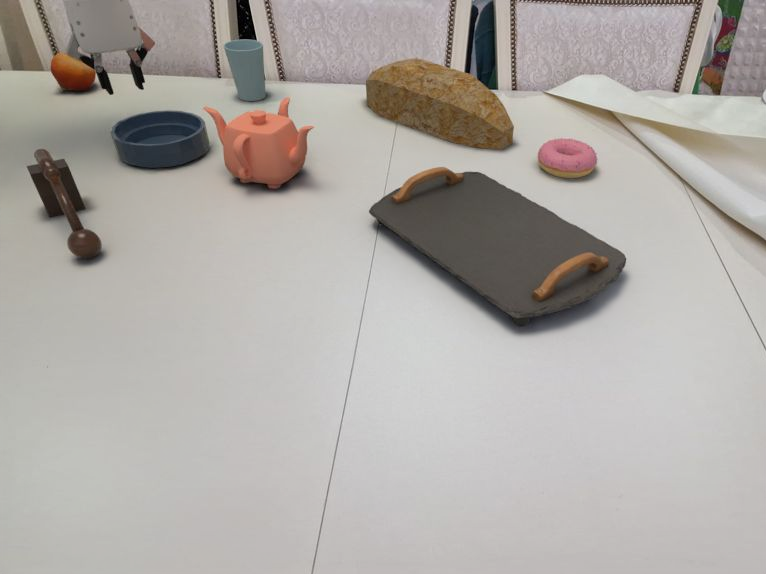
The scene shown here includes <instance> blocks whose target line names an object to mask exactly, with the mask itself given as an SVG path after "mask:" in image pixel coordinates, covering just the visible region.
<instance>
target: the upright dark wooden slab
mask: <svg viewBox="0 0 766 574" xmlns="http://www.w3.org/2000/svg"><path fill="white" fill-rule="evenodd" d="M53 160H54V159H53ZM54 162H55V164H56V166H57V168H58V170H59V172H60V174H61V177H60V179H61V181H62V183H63V185H64V188H65V190H66V192H67V194H68V196H69V198H70V200H71V202H72V205H73V207H74V209H75V211H76V212H77V211H81V210H86V206H85V203H84V200H83V199H82V196H81V193H80V191H79V188H78V186H77V184H76V180H75V179H74V176H73V174H72V171H71V169H70V167H69V165H68V163H67V161H66V159H65V158H60V159H55V160H54ZM25 167H26V168H27V171H28V174H29V176H30V178H31V180H32V182H33V185H34V187H35V189H36V191H37V193H38V195H39V198H40V199H41V202H42V204H43V206H44V208H45V211H46V213H47V215H48V217H49V218H51V217H56V216H60V215H65V214H64V212H63V210H62V208H61V205H60V203H59V201H58V199H57V197H56V195H55V193H54V190H53V188H52V186H51V184H50V182H49V181H48V180H47V179H46V178H45V177H44V175H43V173H42V171H41V169H40V167H39V165H38V163H34V164H30V165H26V166H25Z"/></svg>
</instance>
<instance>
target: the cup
mask: <svg viewBox="0 0 766 574" xmlns="http://www.w3.org/2000/svg"><path fill="white" fill-rule="evenodd" d="M223 49H224V52H225V56H226V58H227V59H226V60H227V62H228V65H229V68H230V72H231V75H232V78H233V82H234V85H235V88H236V92H237V95H238V97H239V99H240V100H242V101H245V102H257V101H261V100H264V99H265V98H266V96H267V95H266V94H267V93H266V79H265V78H266V77H265V76H266V75H265V60H264V44H263V43H262V42H261V41H259V40H256V39H246V38H245V39H242V38H241V39H234V40H230V41H227V42H225V43H224V44H223Z"/></svg>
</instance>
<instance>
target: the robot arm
mask: <svg viewBox="0 0 766 574" xmlns="http://www.w3.org/2000/svg"><path fill="white" fill-rule="evenodd" d="M62 1H63V5H64V6H63V7H64V9H65V13H66V18H67V21H68V24H69V27H70V31H71V34H70V37H69V41H68V43H67V46H66V49H65V53H67V55H68V56H70V57H72V58H74V59H76V60H78V61H81V62H83V63H84V64H86V65H88V66H89V67H91V68H92V69H94V70H95V72H96V77H97V79H98V82H99V85H100V88H101V89H102V90H105V91H106V92H107V93H108V95H109V96H113V95H114V94H115V92H114V89H113V87H112V83H111V80H110V78H109V74H108V72H107V70H106V69H105V68H104V66H103V57H102V56H103V55H102V54H105V53H113V52H121V51H125V52H126V54H127V56H128V57H129V59H130V60H129V69H130V72H131V75H132V78H133V82H134V85H135V86H136V87H137V88H138V90H141V91H143V90H145V87H144V85H143V84H145V83H146V80H145V77H144V73H143V70H142V66H143V62H144V60H145V58H146V57H147V55H148V53H149V52H150V51H151V50H152V49H153V48H154V46H155V44H156V42H155V41H154V39H152V38H151V37H150V36H149V35H148V34H147V33H146V32H145V31H144V30H143V29H142V28H141V27H140V26H139V25H138V21H137V19H136V16H135V13H134V10H133V8H132V5H131V3H130V0H62ZM79 48H80V49H81V51H82V52H83V53H82V52H80V51H78V50H79ZM84 53H85V54H84ZM87 54H88V55H89V56H88V55H87Z"/></svg>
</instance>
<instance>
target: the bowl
mask: <svg viewBox="0 0 766 574" xmlns="http://www.w3.org/2000/svg"><path fill="white" fill-rule="evenodd" d="M110 136H111V139H112V142H113V144H114V147H115V148H114V149H115V150H116V153H117V156H118V157H119V159H120V160H121V161H122V162H124V163H127V164H128V165H133V166H136V167H143V168H155V169H157V168H159V169H160V168H171V167H176V166H180V165H184V164H187V163H190V162H192V161H194V160H197V159H198V158H200V157H202V156H203V155H205V154H206V153H207V152H208V150H209V149H210V144H211V143H210V138H209V134H208V130H207V126H206V122H205V121H204V119H203V118H202V117H201V116H199V115H197V114H195V113H193V112H187V111H182V110H170V109H168V110H153V111H148V112H142V113H141V112H140V113H137V114H134V115H131V116H128V117H125V118H123V119H120V120H119V121H117V122H116V123H115V124H114V125H113V126H111V129H110Z"/></svg>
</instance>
